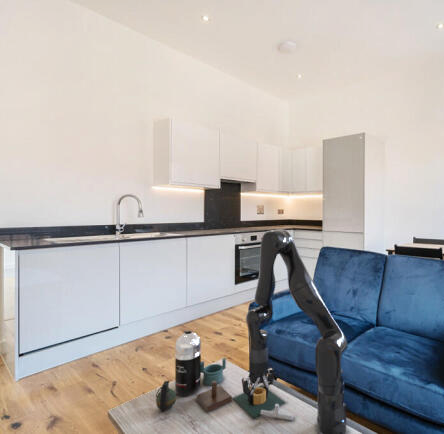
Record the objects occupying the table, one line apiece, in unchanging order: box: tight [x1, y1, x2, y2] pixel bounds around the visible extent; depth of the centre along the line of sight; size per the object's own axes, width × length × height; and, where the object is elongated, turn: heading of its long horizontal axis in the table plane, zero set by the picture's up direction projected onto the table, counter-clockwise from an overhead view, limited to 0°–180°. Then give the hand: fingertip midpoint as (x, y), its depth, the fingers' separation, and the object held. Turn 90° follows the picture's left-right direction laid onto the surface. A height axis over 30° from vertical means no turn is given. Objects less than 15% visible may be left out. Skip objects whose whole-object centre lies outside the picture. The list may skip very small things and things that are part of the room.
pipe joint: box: [260, 404, 294, 421], centre depth 112 cm, size 12×2×4 cm, turn 78°
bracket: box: [201, 357, 227, 386], centre depth 136 cm, size 9×9×9 cm
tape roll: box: [253, 386, 266, 405], centre depth 121 cm, size 6×6×4 cm
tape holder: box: [196, 381, 233, 413], centre depth 121 cm, size 10×10×8 cm
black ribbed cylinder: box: [174, 330, 202, 397], centre depth 128 cm, size 10×10×25 cm
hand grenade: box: [155, 380, 177, 413], centre depth 116 cm, size 8×7×10 cm
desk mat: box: [232, 384, 286, 420], centre depth 121 cm, size 16×14×1 cm
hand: (258, 399), depth 121 cm, fingers closed on tape roll, 6 cm apart
